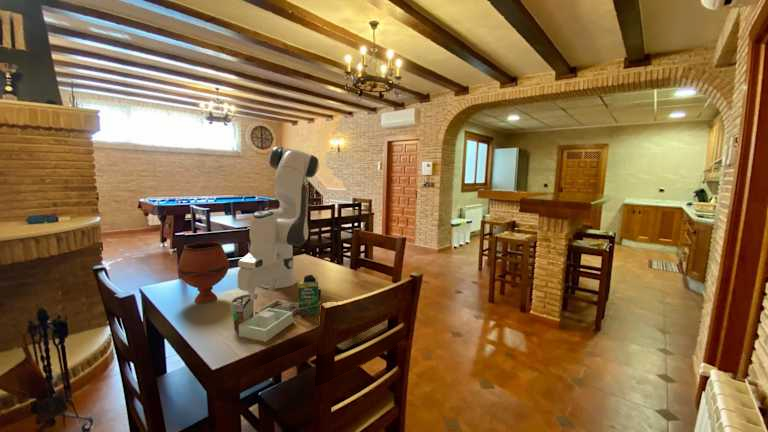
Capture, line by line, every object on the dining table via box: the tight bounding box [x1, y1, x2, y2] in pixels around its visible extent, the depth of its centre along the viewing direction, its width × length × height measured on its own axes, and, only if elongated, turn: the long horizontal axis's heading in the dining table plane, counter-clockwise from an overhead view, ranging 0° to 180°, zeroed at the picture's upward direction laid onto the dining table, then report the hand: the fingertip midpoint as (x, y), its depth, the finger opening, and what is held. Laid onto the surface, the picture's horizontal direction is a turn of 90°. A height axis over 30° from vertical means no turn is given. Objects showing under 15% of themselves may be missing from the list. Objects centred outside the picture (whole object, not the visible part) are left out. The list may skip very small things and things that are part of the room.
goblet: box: [177, 241, 230, 305], centre depth 137 cm, size 19×19×25 cm
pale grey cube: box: [280, 303, 293, 312], centre depth 128 cm, size 4×4×4 cm
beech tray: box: [254, 299, 299, 316], centre depth 129 cm, size 14×14×2 cm
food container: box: [229, 293, 255, 332], centre depth 115 cm, size 12×6×10 cm, turn 5°
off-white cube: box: [259, 311, 275, 329], centre depth 113 cm, size 4×4×5 cm
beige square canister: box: [303, 274, 322, 305], centre depth 139 cm, size 7×7×12 cm
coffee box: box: [297, 281, 320, 316], centre depth 126 cm, size 8×3×13 cm, turn 94°
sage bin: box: [238, 307, 294, 343], centre depth 113 cm, size 11×16×4 cm
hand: (263, 294), depth 112 cm, fingers open, 8 cm apart
